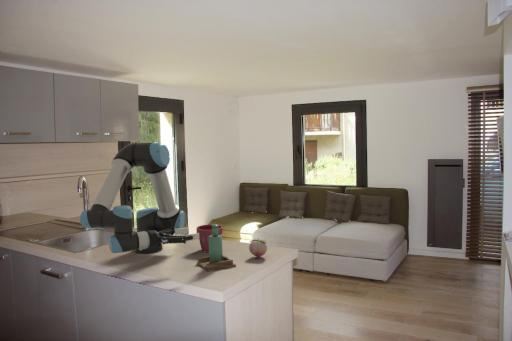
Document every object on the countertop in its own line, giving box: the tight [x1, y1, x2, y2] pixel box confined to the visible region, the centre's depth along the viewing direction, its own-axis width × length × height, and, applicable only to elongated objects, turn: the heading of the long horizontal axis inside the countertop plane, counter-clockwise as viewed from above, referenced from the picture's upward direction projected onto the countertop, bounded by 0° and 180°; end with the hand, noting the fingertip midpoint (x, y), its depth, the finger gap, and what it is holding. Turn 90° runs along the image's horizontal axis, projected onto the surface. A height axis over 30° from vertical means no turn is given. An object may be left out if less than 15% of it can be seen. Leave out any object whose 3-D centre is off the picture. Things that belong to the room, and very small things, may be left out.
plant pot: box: [196, 223, 224, 253], centre depth 221 cm, size 14×14×13 cm
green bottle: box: [208, 223, 224, 263], centre depth 192 cm, size 6×6×18 cm
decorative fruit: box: [248, 239, 268, 258], centre depth 205 cm, size 9×8×10 cm
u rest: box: [196, 254, 237, 272], centre depth 193 cm, size 14×14×3 cm
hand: (193, 233), depth 185 cm, fingers open, 13 cm apart
